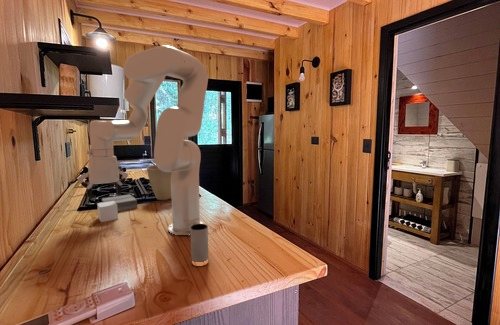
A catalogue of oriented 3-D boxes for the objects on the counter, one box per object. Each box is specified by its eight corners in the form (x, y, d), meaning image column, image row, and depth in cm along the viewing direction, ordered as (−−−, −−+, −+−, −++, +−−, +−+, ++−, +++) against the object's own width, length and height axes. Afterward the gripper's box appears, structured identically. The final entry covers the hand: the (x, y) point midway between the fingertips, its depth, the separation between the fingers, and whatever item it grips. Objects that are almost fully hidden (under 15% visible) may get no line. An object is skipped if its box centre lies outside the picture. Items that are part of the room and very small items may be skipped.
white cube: (118, 219, 107) (117, 204, 106) (101, 222, 103) (99, 207, 102) (114, 214, 111) (113, 200, 110) (98, 218, 108) (97, 203, 107)
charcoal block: (137, 208, 121) (136, 199, 120) (107, 214, 113) (106, 204, 113) (130, 202, 130) (129, 194, 129) (102, 206, 123) (101, 198, 122)
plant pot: (147, 196, 139) (145, 165, 137) (176, 192, 146) (175, 163, 143) (149, 203, 126) (147, 170, 124) (182, 200, 132) (180, 168, 130)
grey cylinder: (192, 268, 71) (191, 230, 69) (190, 259, 75) (189, 224, 73) (209, 265, 72) (208, 228, 70) (207, 257, 76) (206, 222, 75)
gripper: (76, 155, 95) (80, 202, 98) (129, 153, 106) (130, 195, 108) (74, 153, 101) (77, 197, 104) (124, 151, 112) (126, 191, 114)
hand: (105, 196), depth 106 cm, fingers open, 9 cm apart
